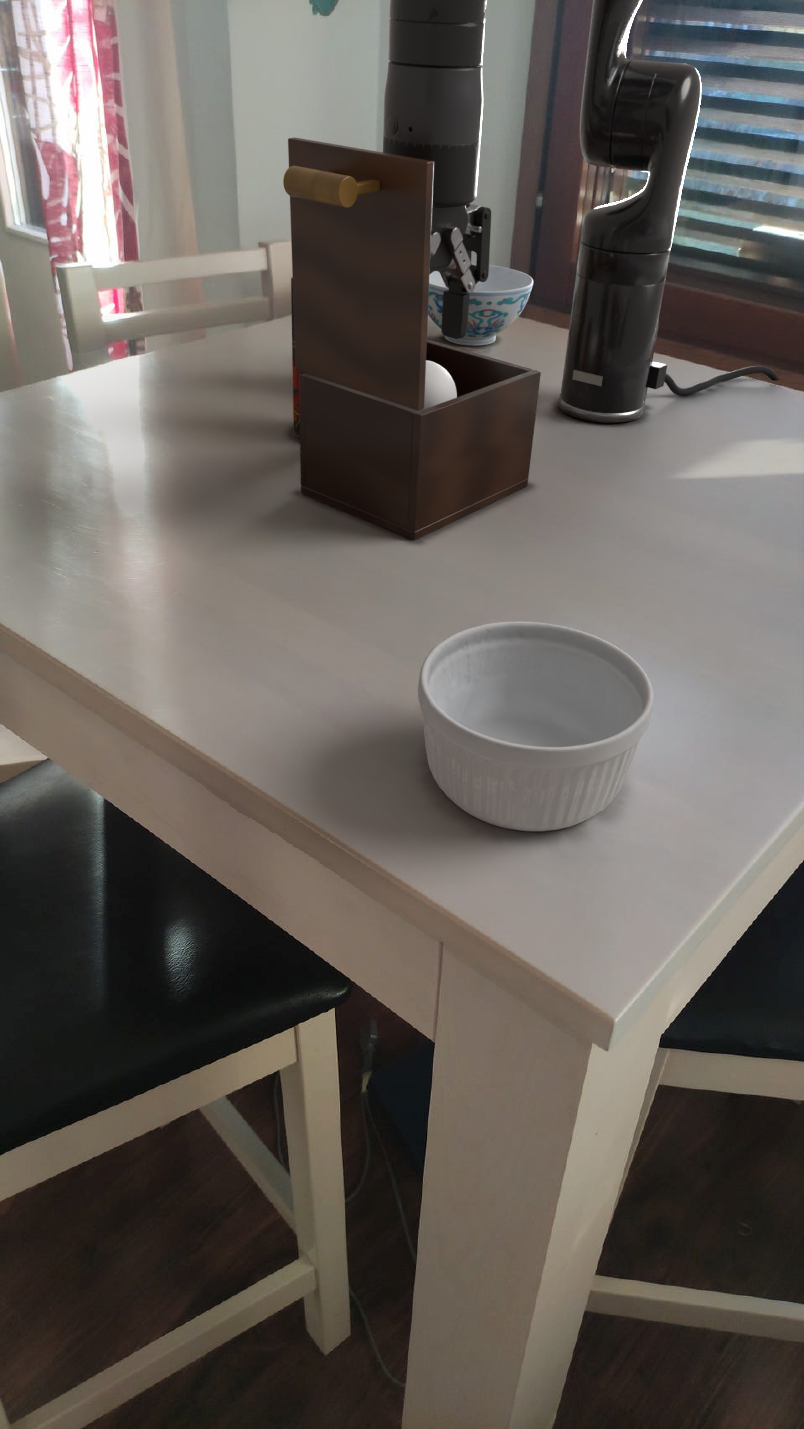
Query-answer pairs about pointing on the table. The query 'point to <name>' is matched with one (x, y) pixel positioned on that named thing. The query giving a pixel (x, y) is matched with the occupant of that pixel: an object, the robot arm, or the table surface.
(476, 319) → the chinaware
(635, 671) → the ramekin
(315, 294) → the lid
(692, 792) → the table surface
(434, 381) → the lightbulb
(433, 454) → the chest
